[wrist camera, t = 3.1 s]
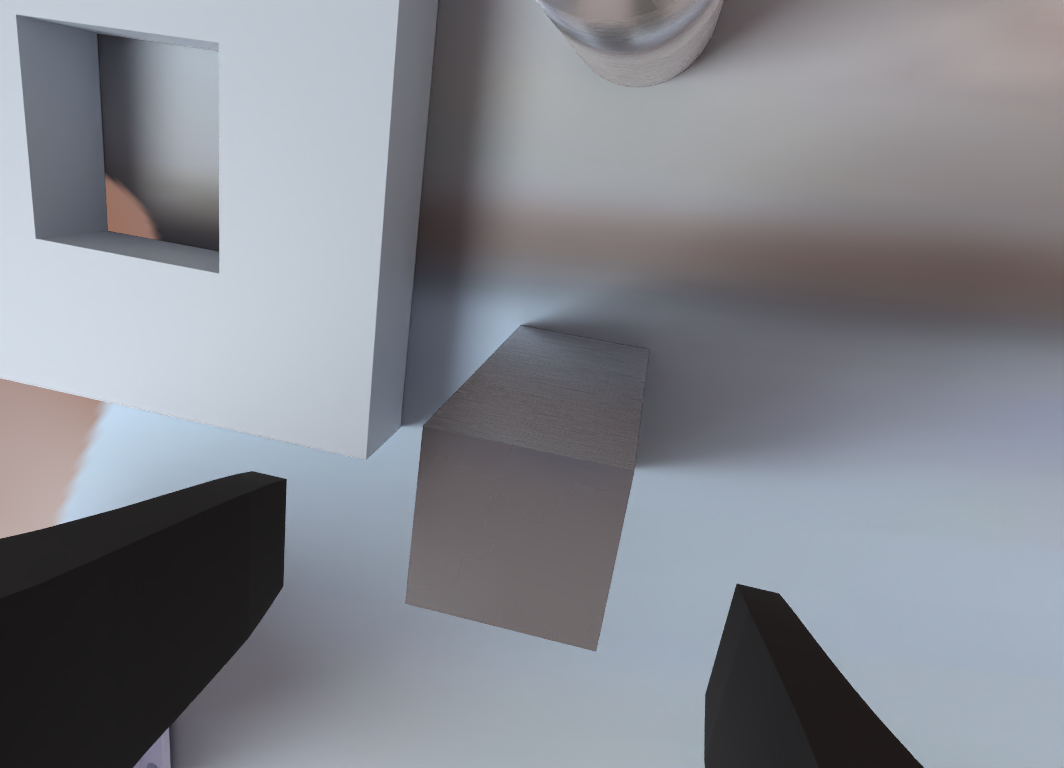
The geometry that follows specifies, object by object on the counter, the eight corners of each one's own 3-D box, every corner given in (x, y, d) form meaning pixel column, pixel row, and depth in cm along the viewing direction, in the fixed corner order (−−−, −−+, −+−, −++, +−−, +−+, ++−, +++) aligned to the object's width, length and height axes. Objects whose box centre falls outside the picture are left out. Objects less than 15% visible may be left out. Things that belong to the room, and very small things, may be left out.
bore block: (400, 427, 21) (365, 460, 18) (-1, 340, 23) (-79, 360, 20) (448, -116, 16) (410, -164, 14) (-57, -166, 18) (-165, -216, 16)
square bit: (624, 468, 20) (595, 651, 12) (503, 442, 20) (405, 603, 13) (649, 349, 19) (633, 471, 11) (520, 325, 19) (423, 425, 12)
